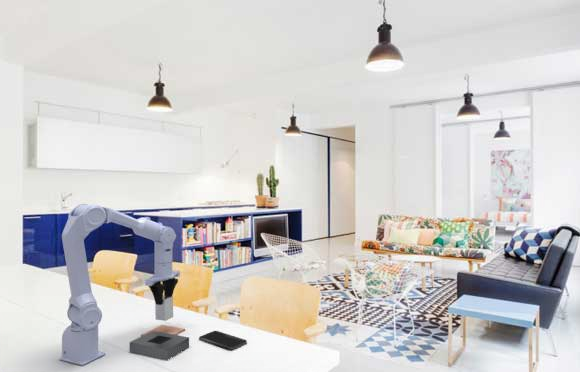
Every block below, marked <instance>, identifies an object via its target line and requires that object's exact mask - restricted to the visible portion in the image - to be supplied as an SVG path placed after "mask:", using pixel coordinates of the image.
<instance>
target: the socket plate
mask: <svg viewBox="0 0 580 372" xmlns="http://www.w3.org/2000/svg"><path fill="white" fill-rule="evenodd" d="M188 347H189V348H190V337H189V336H183V335H179V334H177V335H173V334H168V333H162V332H157V331H152V332H150V333H148V334H145V335H143V336H141V335H140V336H139V337H138V338H135V339H133V340H131V341H130V342H129V353H131V354H135V355H140V356H143V357H144V356H145V357H150V358H154V359H159V360H163V359H164V360H163V361H169V360H171V359H172V358H173V356H174V357H176V356H177V355H179V354H180V353H182V352H184V351H185V350H187V349H189V348H188ZM186 348H187V349H186ZM183 350H184V351H183ZM181 351H182V352H181ZM178 353H179V354H178ZM176 354H177V355H176ZM171 357H172V358H171ZM170 358H171V359H170ZM168 359H169V360H168Z"/></svg>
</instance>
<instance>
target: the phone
mask: <svg viewBox="0 0 580 372" xmlns="http://www.w3.org/2000/svg"><path fill="white" fill-rule="evenodd" d="M198 341H200V342H202V343H205V344H208V345H211V346H214V347H217V348H220V349H223V350H224V351H225V350H226V351H228V352H233V351H235V350H236V349H239V348H242V347H244V346H245V345H247V343H248V341H247V339H245V338H240V337H238V336H234V335H231V334H228V333H225V332H222V331H219V330H213V331H209V332H208V333H206V334H203V335H201V336H199V337H198Z"/></svg>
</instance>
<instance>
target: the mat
mask: <svg viewBox="0 0 580 372" xmlns="http://www.w3.org/2000/svg"><path fill="white" fill-rule="evenodd" d="M152 331H157V332H162V333H168V334H173V335H179V334H181V333H182V332H185V331H186V329H185V328H182V327H176V326H171V325H166V324H160V325H158V326H156V327H154V328H152V329H150V330H148V331H146V332H143V333H142V334H140V337H141V336H143V335H145V334H148V333H150V332H152Z"/></svg>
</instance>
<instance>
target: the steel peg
mask: <svg viewBox="0 0 580 372" xmlns="http://www.w3.org/2000/svg"><path fill="white" fill-rule="evenodd" d="M154 304H155V306H154V308H155V310H154V311H155V320H157V321H162V322H166V321H168V320H170V319H173V318H174V296H173V295H172V296H165V295H164V294H163V301H162V305H157V304H156V303H155V302H154Z"/></svg>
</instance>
